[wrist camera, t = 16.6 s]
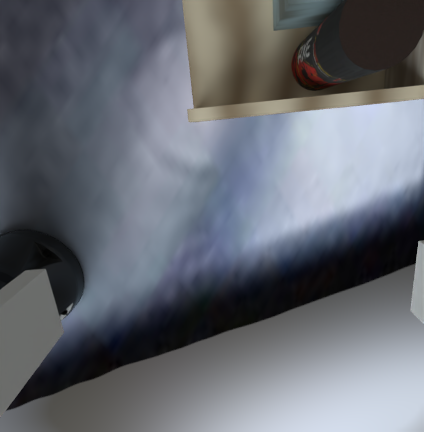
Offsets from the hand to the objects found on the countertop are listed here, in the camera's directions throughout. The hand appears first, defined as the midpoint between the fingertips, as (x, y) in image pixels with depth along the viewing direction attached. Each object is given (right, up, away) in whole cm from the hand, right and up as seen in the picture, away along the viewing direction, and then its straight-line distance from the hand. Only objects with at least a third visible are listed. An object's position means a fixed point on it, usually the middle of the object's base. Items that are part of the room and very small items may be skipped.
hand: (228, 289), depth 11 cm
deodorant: (+12, +21, +25) cm, 34 cm away
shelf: (+9, +22, +25) cm, 35 cm away
